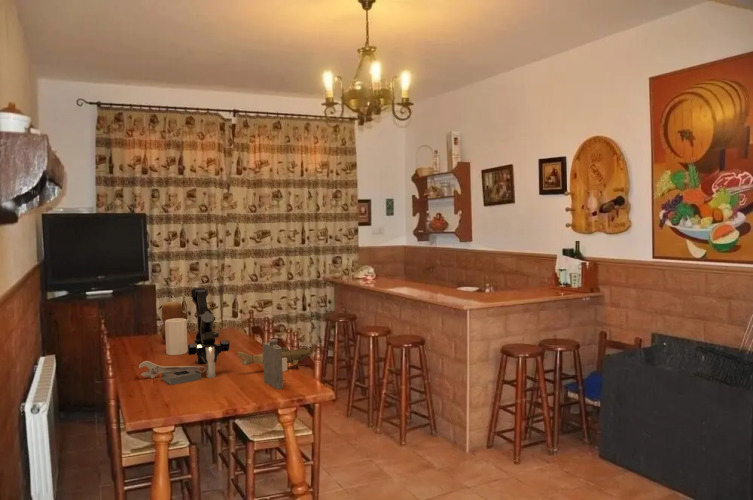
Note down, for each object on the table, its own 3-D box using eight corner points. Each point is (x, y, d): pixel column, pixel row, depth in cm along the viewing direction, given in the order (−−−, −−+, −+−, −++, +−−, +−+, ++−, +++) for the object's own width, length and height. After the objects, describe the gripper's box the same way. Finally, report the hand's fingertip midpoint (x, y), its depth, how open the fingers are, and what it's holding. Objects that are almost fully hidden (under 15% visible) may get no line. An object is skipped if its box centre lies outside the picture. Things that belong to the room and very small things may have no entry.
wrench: (204, 378, 285) (137, 379, 273) (204, 377, 287) (137, 378, 274) (206, 361, 285) (139, 361, 273) (205, 360, 287) (139, 361, 274)
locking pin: (205, 376, 276) (204, 347, 275) (213, 375, 279) (212, 345, 278) (208, 378, 273) (207, 348, 272) (216, 377, 275) (215, 347, 275)
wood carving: (236, 372, 282) (235, 349, 281) (307, 364, 296) (306, 341, 295) (240, 377, 274) (239, 353, 273) (313, 368, 288) (312, 345, 287)
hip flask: (263, 381, 266) (261, 337, 265) (271, 380, 268) (270, 336, 267) (277, 390, 252) (275, 343, 251) (286, 388, 255) (284, 342, 253)
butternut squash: (176, 339, 365) (175, 299, 363) (190, 341, 357) (188, 300, 355) (157, 343, 353) (155, 302, 352) (170, 346, 346) (168, 303, 344)
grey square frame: (162, 379, 273) (161, 373, 273) (191, 374, 282) (191, 367, 281) (170, 385, 264) (170, 378, 263) (201, 379, 272) (201, 372, 272)
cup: (161, 354, 324) (160, 321, 323) (175, 350, 335) (174, 317, 334) (178, 356, 320) (176, 322, 319) (191, 351, 330) (190, 318, 329)
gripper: (187, 326, 275) (190, 355, 265) (228, 323, 282) (232, 350, 272) (186, 340, 282) (189, 368, 273) (226, 336, 289) (230, 364, 280)
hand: (210, 362), depth 274 cm, fingers closed on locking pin, 4 cm apart
